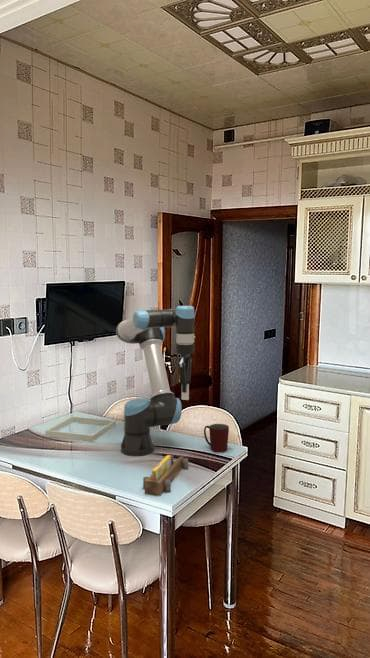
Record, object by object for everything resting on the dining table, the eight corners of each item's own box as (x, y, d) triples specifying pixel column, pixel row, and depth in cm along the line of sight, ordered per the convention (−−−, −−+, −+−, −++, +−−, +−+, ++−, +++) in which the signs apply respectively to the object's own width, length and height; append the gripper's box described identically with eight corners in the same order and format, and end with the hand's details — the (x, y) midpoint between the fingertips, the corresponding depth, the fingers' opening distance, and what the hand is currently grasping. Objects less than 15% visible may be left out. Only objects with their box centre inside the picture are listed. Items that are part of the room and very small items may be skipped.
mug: (199, 450, 228) (199, 426, 227) (208, 444, 235) (208, 421, 234) (223, 454, 222) (223, 430, 221) (231, 448, 230) (231, 425, 228)
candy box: (166, 474, 201) (166, 454, 200) (171, 475, 200) (171, 455, 199) (151, 491, 185) (151, 469, 184) (157, 491, 185) (156, 470, 184)
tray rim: (45, 436, 246) (45, 430, 246) (72, 421, 271) (72, 416, 270) (92, 441, 239) (92, 435, 238) (115, 426, 263) (115, 420, 263)
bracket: (138, 492, 183) (138, 479, 183) (164, 464, 210) (164, 453, 210) (166, 496, 180) (166, 483, 180) (188, 467, 207) (188, 456, 207)
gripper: (189, 346, 197) (189, 404, 200) (198, 341, 209) (198, 396, 212) (171, 345, 199) (171, 402, 202) (181, 341, 212) (181, 395, 214)
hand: (185, 399), depth 207 cm, fingers closed
